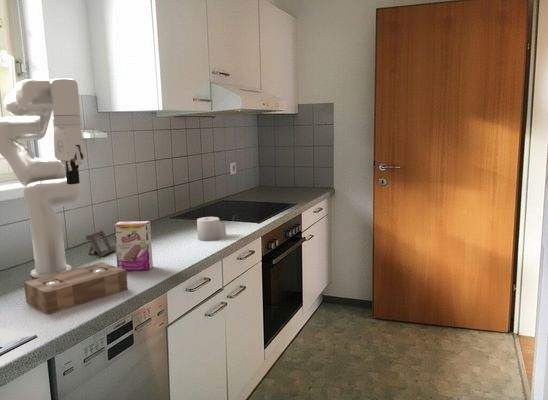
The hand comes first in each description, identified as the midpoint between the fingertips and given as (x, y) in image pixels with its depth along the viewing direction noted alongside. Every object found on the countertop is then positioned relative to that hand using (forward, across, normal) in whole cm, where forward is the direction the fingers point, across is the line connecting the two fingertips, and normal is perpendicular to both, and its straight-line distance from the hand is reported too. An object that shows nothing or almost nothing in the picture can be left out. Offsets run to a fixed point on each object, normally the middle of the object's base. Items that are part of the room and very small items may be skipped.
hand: (73, 183), depth 145 cm
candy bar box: (+32, -2, +20) cm, 38 cm away
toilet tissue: (+32, -14, +65) cm, 74 cm away
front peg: (+32, +7, -12) cm, 35 cm away
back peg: (+32, +7, +2) cm, 33 cm away
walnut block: (+32, +7, -5) cm, 33 cm away
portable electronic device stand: (+32, -31, +23) cm, 50 cm away
